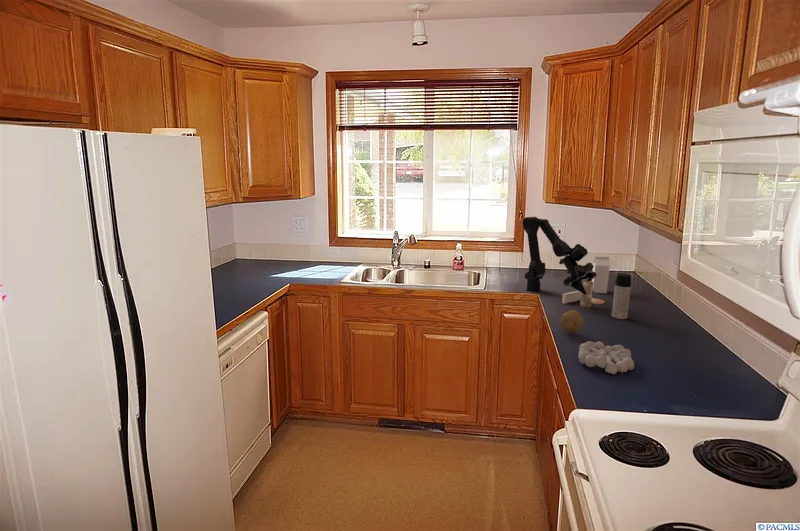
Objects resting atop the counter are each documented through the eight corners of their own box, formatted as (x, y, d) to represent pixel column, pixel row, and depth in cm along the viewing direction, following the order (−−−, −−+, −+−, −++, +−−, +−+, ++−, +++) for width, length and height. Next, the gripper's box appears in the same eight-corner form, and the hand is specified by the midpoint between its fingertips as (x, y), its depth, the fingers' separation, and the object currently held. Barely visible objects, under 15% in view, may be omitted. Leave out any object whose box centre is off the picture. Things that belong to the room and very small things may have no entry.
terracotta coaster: (586, 303, 264) (586, 302, 264) (585, 298, 272) (585, 297, 272) (605, 305, 261) (605, 303, 261) (604, 300, 270) (604, 299, 270)
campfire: (561, 353, 199) (563, 338, 197) (611, 350, 203) (613, 335, 202) (595, 379, 178) (597, 362, 176) (650, 374, 182) (652, 358, 181)
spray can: (627, 316, 244) (632, 273, 240) (626, 320, 238) (631, 276, 234) (612, 314, 247) (616, 272, 243) (611, 318, 241) (615, 275, 237)
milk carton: (606, 293, 283) (610, 258, 278) (592, 292, 284) (596, 257, 280) (604, 290, 289) (608, 255, 285) (590, 289, 291) (594, 255, 287)
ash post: (580, 306, 258) (582, 282, 255) (579, 303, 263) (582, 280, 260) (591, 307, 257) (593, 283, 254) (590, 304, 261) (593, 281, 259)
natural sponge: (576, 339, 213) (578, 315, 211) (555, 334, 219) (557, 310, 217) (585, 334, 220) (588, 310, 218) (565, 328, 226) (567, 306, 224)
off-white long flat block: (564, 303, 263) (565, 294, 262) (561, 302, 264) (562, 293, 263) (580, 300, 269) (581, 291, 268) (577, 299, 271) (578, 290, 270)
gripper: (570, 259, 253) (587, 287, 246) (595, 255, 263) (612, 282, 256) (555, 272, 261) (572, 299, 254) (580, 268, 271) (597, 294, 264)
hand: (589, 293), depth 257 cm, fingers closed on ash post, 5 cm apart
